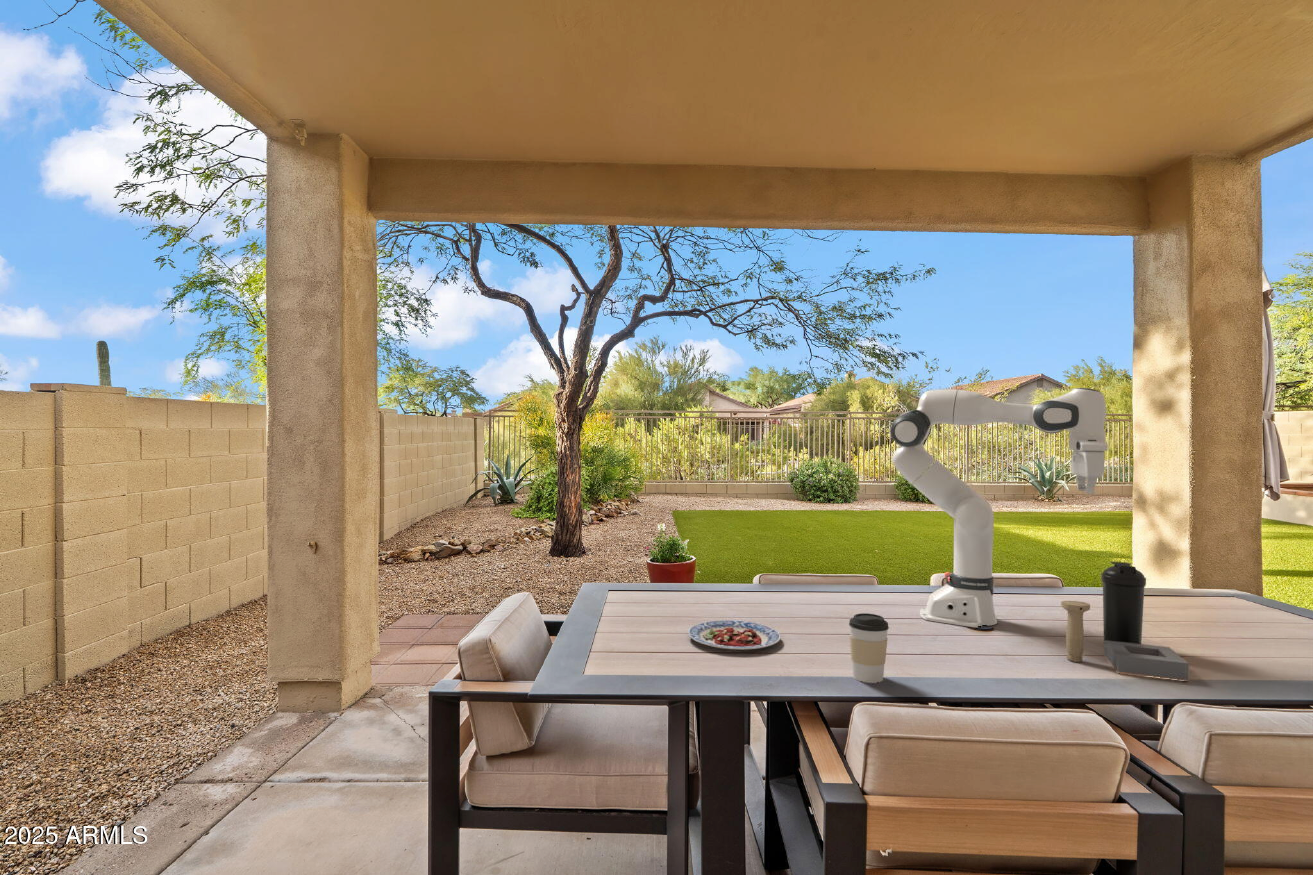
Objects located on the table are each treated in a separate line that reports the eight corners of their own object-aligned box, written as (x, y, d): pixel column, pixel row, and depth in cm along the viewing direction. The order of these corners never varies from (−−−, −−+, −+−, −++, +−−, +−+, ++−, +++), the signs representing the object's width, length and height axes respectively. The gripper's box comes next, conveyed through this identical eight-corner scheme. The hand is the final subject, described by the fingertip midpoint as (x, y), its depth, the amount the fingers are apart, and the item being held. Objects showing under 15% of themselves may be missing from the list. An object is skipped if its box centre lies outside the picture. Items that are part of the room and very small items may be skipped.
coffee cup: (842, 671, 162) (843, 610, 161) (878, 670, 162) (879, 609, 162) (857, 685, 152) (857, 620, 152) (894, 684, 153) (895, 620, 153)
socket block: (1118, 673, 162) (1118, 655, 162) (1104, 657, 174) (1104, 640, 174) (1188, 682, 157) (1188, 663, 157) (1168, 664, 169) (1169, 647, 169)
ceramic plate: (790, 634, 191) (790, 624, 191) (766, 662, 168) (766, 650, 168) (707, 623, 202) (707, 613, 202) (673, 647, 179) (673, 636, 179)
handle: (1093, 664, 168) (1094, 605, 168) (1067, 663, 169) (1068, 605, 168) (1081, 657, 173) (1082, 601, 173) (1056, 657, 173) (1057, 600, 173)
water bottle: (1137, 643, 186) (1138, 562, 186) (1150, 654, 177) (1152, 568, 176) (1095, 639, 189) (1096, 559, 189) (1106, 649, 180) (1108, 566, 180)
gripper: (1065, 443, 200) (1064, 489, 200) (1082, 444, 181) (1081, 494, 181) (1090, 444, 198) (1089, 490, 198) (1109, 445, 179) (1108, 495, 179)
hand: (1085, 492), depth 190 cm, fingers open, 8 cm apart
